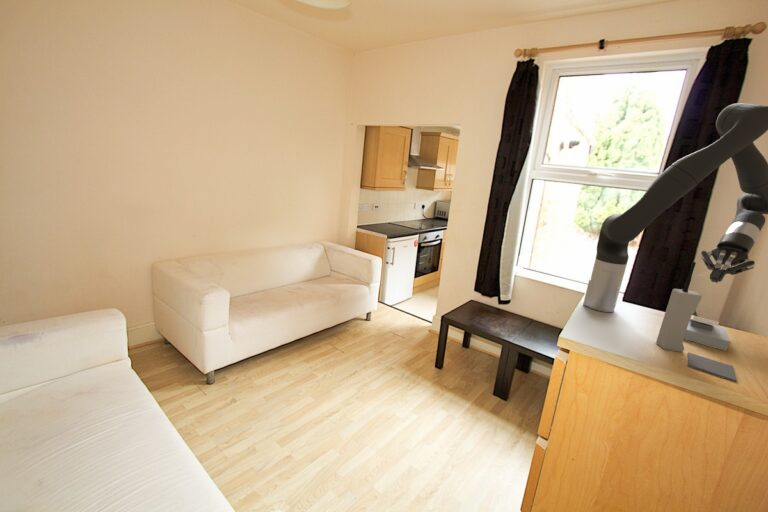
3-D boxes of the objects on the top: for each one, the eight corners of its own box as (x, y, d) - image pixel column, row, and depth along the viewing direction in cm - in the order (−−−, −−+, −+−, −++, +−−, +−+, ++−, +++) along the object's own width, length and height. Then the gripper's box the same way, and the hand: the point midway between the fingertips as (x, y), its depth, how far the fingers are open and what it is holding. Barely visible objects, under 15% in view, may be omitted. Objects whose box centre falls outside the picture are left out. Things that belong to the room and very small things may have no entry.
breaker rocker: (692, 319, 104) (693, 315, 103) (688, 318, 113) (689, 315, 113) (717, 325, 100) (719, 321, 100) (711, 324, 110) (713, 321, 110)
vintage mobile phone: (683, 352, 96) (712, 265, 90) (662, 349, 97) (690, 262, 91) (675, 346, 100) (703, 261, 93) (655, 342, 101) (682, 259, 94)
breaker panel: (672, 335, 107) (676, 322, 106) (673, 323, 116) (677, 310, 115) (725, 350, 99) (731, 336, 98) (722, 336, 109) (726, 323, 108)
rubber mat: (687, 366, 89) (688, 364, 89) (687, 353, 96) (688, 352, 95) (736, 382, 83) (737, 380, 83) (732, 367, 90) (733, 366, 90)
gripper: (711, 227, 114) (687, 266, 110) (769, 236, 103) (745, 280, 100) (710, 242, 118) (687, 280, 114) (766, 252, 108) (742, 295, 104)
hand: (714, 280), depth 107 cm, fingers closed
